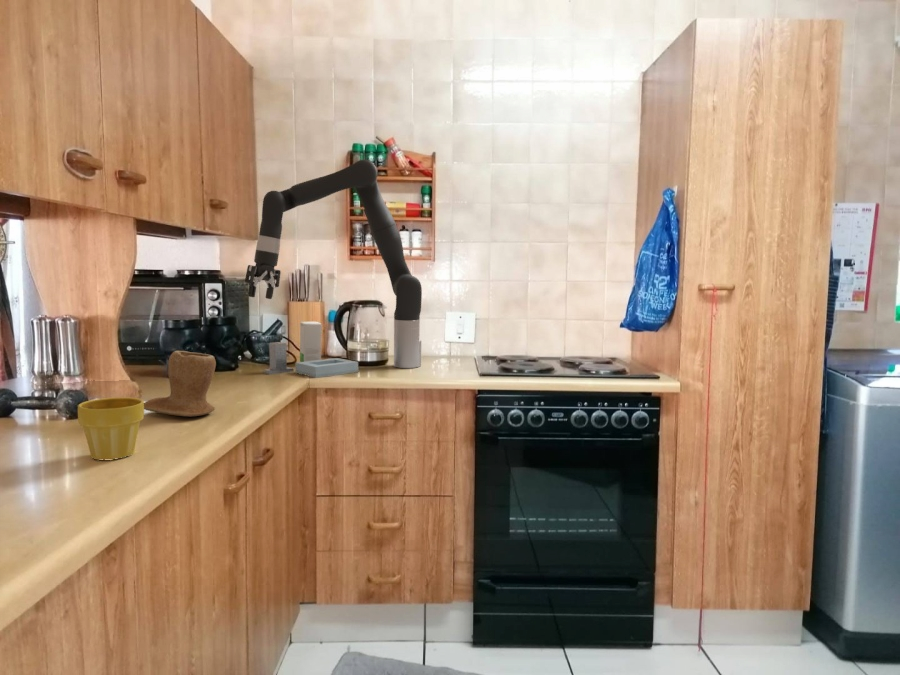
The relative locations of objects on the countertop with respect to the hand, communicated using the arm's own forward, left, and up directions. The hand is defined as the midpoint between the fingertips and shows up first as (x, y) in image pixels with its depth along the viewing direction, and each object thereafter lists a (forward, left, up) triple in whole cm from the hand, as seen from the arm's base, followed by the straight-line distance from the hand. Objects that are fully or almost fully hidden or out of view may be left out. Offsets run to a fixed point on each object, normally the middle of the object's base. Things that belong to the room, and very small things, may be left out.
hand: (260, 297), depth 198 cm
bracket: (-1, +9, -25) cm, 26 cm away
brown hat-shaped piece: (+45, +46, -25) cm, 69 cm away
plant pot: (+67, +69, -25) cm, 99 cm away
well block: (-13, +20, -25) cm, 34 cm away
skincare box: (-19, +1, -25) cm, 32 cm away
